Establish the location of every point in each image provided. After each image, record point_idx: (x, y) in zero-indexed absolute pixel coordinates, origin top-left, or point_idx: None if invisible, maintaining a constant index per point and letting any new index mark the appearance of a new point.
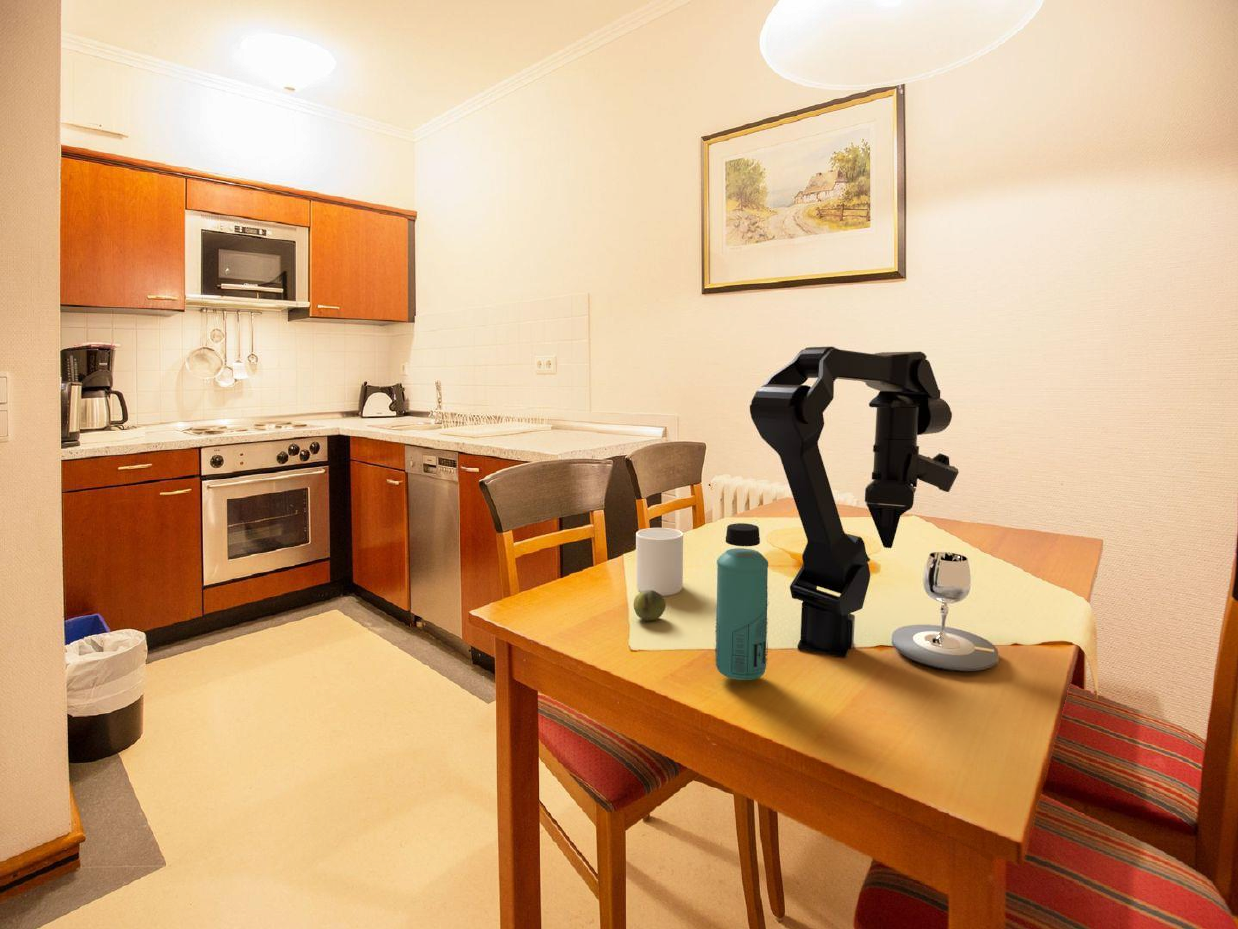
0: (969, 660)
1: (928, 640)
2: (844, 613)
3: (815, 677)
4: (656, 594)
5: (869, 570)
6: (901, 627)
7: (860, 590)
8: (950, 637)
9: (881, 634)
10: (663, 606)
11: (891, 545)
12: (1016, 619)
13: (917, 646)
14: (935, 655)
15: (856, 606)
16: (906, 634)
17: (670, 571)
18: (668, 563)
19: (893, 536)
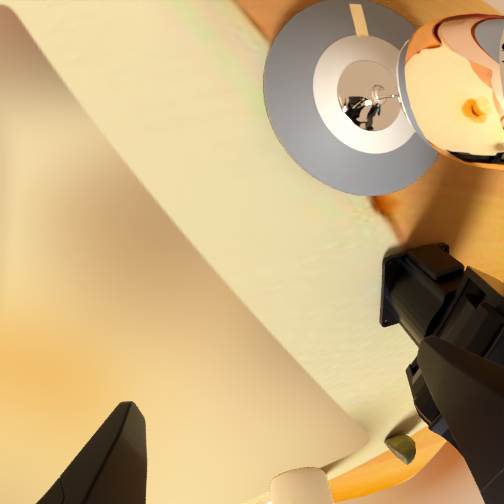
0: None
1: (387, 122)
2: (496, 279)
3: (491, 254)
4: (410, 456)
5: (492, 309)
6: (331, 186)
7: (499, 287)
8: (349, 79)
9: (321, 220)
10: (405, 443)
11: (441, 340)
12: (51, 16)
13: (412, 140)
14: None
15: (483, 274)
16: (367, 168)
17: (322, 491)
18: (326, 500)
19: (479, 359)
